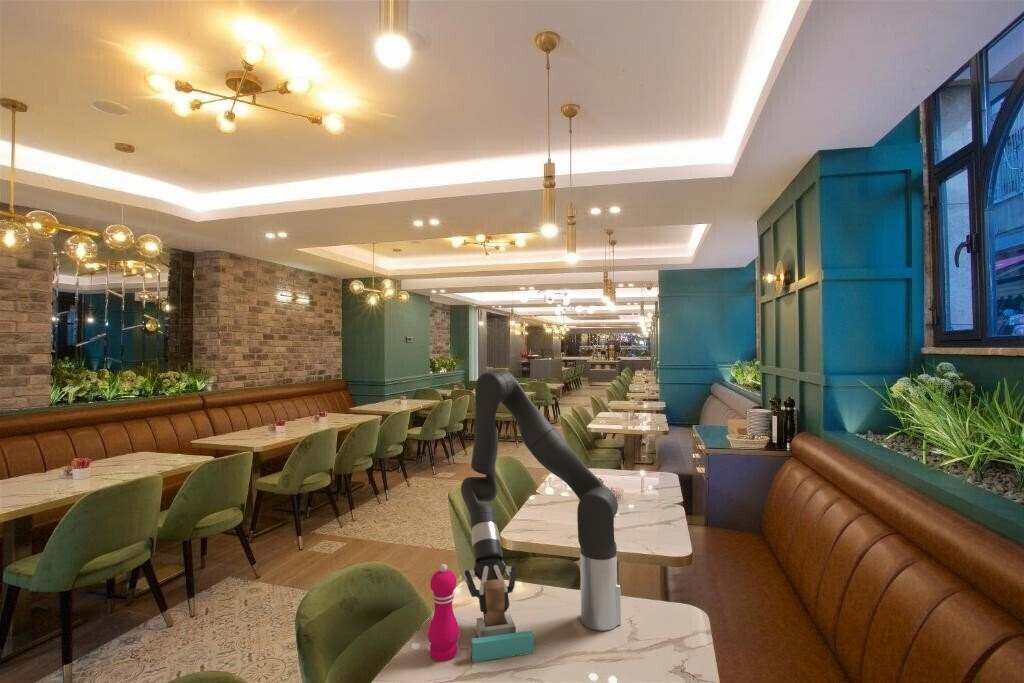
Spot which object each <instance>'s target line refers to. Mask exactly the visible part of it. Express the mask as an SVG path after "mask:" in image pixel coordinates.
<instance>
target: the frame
mask: <svg viewBox="0 0 1024 683" xmlns="http://www.w3.org/2000/svg"><path fill="white" fill-rule="evenodd" d="M516 627H517V626H516V624H515V622H514V619H513V618H512V616H511V613H508V614H505V625H497V626H490V627H486V626H485V623H484V617H477V618H476V633H477V636H478V637H477V638H480V637H487V636H495V635H502V634H509V633H516V630H517V629H516Z"/></svg>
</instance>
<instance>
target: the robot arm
mask: <svg viewBox="0 0 1024 683" xmlns="http://www.w3.org/2000/svg"><path fill="white" fill-rule="evenodd" d="M474 391H475V392H474V393H475V394H474V395H475V396H474V398H475V399H474V400H475V401H474V402H475V431H474V432H475V433H474V442H473V449H472V454H471V462H470V463H471V465H470V466H471V469H472V470H473V472H475V473H478V474H480V475H481V474H482V475H484V476H468V477H465V478H464V479H463V480H462V482H461V487H460V491H461V492H460V493H461V496H462V499H463V502H464V504H465V507H466V508H467V511H468V514H469V517H470V518H469V519H470V524H471V526H470V527H471V546H472V553H473V561H474V566H473V569H471V570H468V569H467V570H465V571H464V574H463V577H464V580H465V583H466V586H467V589H468V591H469V594H470V596H471V597H472V598H474V597H476V598H478V602H479V603H478V604H479V609H480V612H481V613H482V614H483V615H484V614H486V613H487V608H486V600H485V595H484V582H486V580H495V579H498V580H502V583H503V585H504V595H505V606H504V610H505V613H507V611H508V610H509V608H510V600H509V599H510V598H509V594H511V593H513V592H514V588H515V586H516V585H515V584H516V573H517V566H516V565H511V566H509V565H506V562H504V558H503V550H502V544H501V537H500V532H499V529H498V524H497V518H496V512H495V509H494V507H493V506H492V505H489V504H487V503H488V502H492V501H494V500H495V499H496V497H497V494H498V484H497V478H496V464H497V457H498V448H499V439H498V433H497V428H496V416H497V411H498V408H499V404H502V405H503V406H504V407H505V408H506V409H507V410H508V411H509V413H510V414H511V415H512V416H513V418H514V420H515V422H516V423H517V426H518V429H519V432H520V436H521V438H522V441H523V443H524V445H525V447H526V449H528V451H529V452H530V453H531V455H532V456H533V457H534V458H535V459H536V460H537V462H538V463H539V464H540V465H541V466H543V467H544V469H546V470H547V471H548V472H550V473H552V474H553V475H555V476H556V477H558V478H559V479H560V480H561V481H563V482H564V483H565V484H566V485H567V486H568V487H569V488H570V489H571V490H572V491H573V493H574V494H575V495H576V497H577V498H578V500H579V501H578V504H577V511H576V512H577V514H576V515H577V517H576V519H577V520H576V521H577V539H578V543H579V547H580V549H579V550H580V553H579V556H580V558H579V560H580V619H581V624H582V625H584V627H586V628H589V629H591V630H594V631H609V630H613V629H614V628H616V627H617V626H620V625H622V608H621V606H622V604H621V602H622V600H621V595H622V594H621V586H620V584H619V583H618V560H617V559H618V558H617V557H618V555H617V554H618V553H617V551H618V550H617V549H618V546H617V543H616V541H615V540H616V539H615V517H616V515H617V512H618V509H619V504H618V500H617V497H616V495H615V494H614V492H612V490H611V489H610V488H609V487H608V486H607V485H606V484H604V482H602V481H601V480H600V479H599V478H598V476H596V475H595V474H594V473H593V472H592V471H591V470H590V469H589V468H588V467H587V465H585V464H584V462H583V461H582V459H581V458H580V457H579V456H578V455H577V453H576V452H575V451H574V450H573V448H572V447H571V446H570V445H569V443H568V442H567V441H566V440H565V439H564V437H563V436H562V435H561V433H560V432H559V431H558V430H557V429H556V428H555V427H554V426H553V425H552V424H551V423H550V422H549V420H548V419H547V418H546V416H544V415H543V413H542V411H540V410H539V408H538V407H537V406H536V405H535V404H534V403H533V401H532V400H531V399H530V398H529V396H528V395H527V393H526V391H525V390H524V389H523V387H522V386H521V385H520V384H519V382H518V380H517V379H516V378H515V376H514V375H513V374H512V373H511V372H510V371H508V370H506V369H503V368H500V369H495V370H490V371H486V372H484V373H483V374H482V373H481V375H480V376H478V378H477V379H476V383H475V390H474ZM505 572H506V574H507V576H509V579H508V586H507V584H506V582H505V579H504V577H503V576H504V574H505ZM474 575H475V576H476V578H477V579H479V581H480V585H479V589H477V586H476V585H475V582H474Z"/></svg>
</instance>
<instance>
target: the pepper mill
mask: <svg viewBox="0 0 1024 683" xmlns="http://www.w3.org/2000/svg"><path fill="white" fill-rule="evenodd" d="M457 583H458V582H457V576H456V574H455V573H454V572H453V571H451V570H449V569H448V565H447V564H446V563H441V565H440V566H439V570H437V571H435V573H434V574H432V576H431V578H430V583H429V585H430V590H431V591H432V601H433V602H434V612H433V616H432V619H431V621H430V623H429V626H428V630H427V640H428V642H429V643H430V645H429V655H430V658H432V660H434V661H439V662H444V661H445V662H446V661H448V660H451V659H453V658H454V657H456V655H457V653H458V643H457V641H458V639H459V638H460V627H459V623H458V621H457V618H456V617H455V613H454V610H453V608H454V607H453V603H454V602H453V601H454V600H455V591H454V590H455V589H456V588H457Z"/></svg>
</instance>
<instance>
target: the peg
mask: <svg viewBox="0 0 1024 683" xmlns="http://www.w3.org/2000/svg"><path fill="white" fill-rule="evenodd" d="M484 595H485V600H486V608H487V613H486V614H483V621H484V623H485V626H486V627H490V626H497V625H505V615H506V614H505V613H506V612H505V610H504V606H505V595H504V585H503V583H502V580H498V579H495V580H486V582H484Z"/></svg>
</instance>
